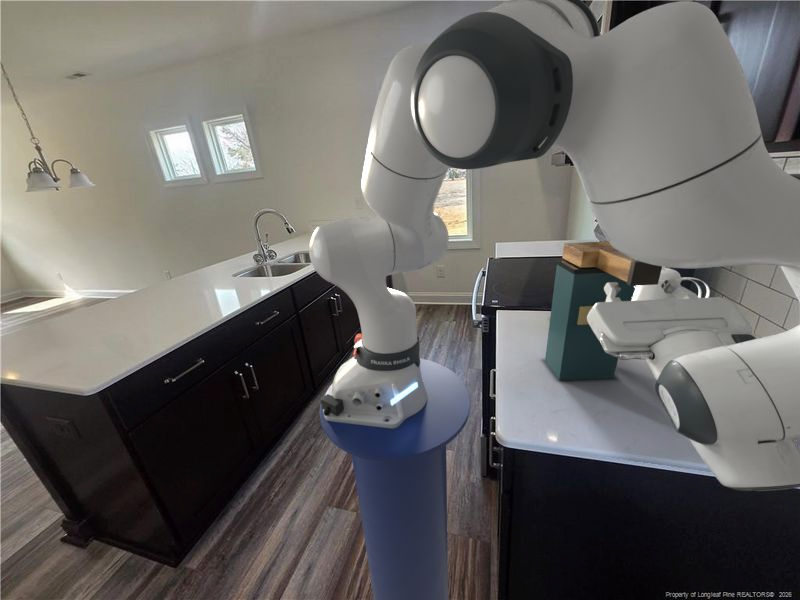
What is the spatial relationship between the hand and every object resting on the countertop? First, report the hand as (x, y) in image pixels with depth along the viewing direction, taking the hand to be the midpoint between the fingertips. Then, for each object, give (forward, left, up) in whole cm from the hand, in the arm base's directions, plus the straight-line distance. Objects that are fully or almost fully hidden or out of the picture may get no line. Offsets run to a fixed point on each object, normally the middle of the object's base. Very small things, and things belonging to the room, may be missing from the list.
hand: (638, 283), depth 53 cm
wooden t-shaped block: (0, +8, 0) cm, 8 cm away
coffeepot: (+29, +33, -26) cm, 51 cm away
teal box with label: (0, +13, -26) cm, 29 cm away
